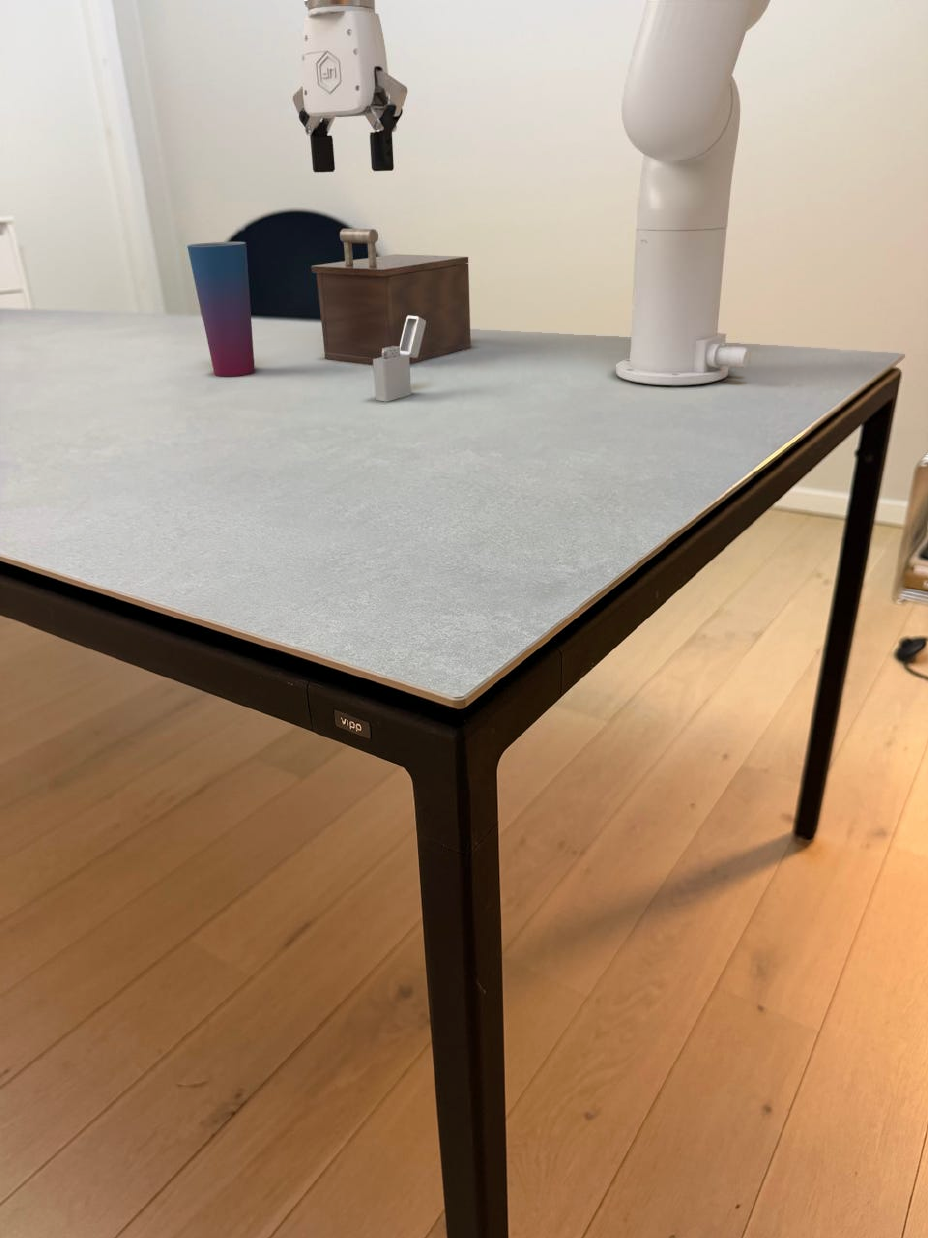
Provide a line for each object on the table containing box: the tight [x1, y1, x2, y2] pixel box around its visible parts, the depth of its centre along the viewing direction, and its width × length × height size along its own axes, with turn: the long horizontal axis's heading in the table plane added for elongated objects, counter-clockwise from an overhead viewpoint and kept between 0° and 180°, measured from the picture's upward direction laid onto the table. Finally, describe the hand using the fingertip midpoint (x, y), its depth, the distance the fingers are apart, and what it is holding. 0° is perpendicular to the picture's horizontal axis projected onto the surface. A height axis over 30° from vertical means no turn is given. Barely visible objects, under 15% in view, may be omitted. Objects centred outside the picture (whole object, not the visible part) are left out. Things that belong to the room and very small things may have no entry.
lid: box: [310, 228, 469, 276], centre depth 118 cm, size 16×13×5 cm
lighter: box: [373, 316, 426, 403], centre depth 99 cm, size 7×2×8 cm, turn 141°
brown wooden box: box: [316, 263, 472, 365], centre depth 122 cm, size 16×13×11 cm
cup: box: [186, 241, 256, 377], centre depth 112 cm, size 7×7×15 cm
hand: (353, 171), depth 110 cm, fingers open, 9 cm apart
